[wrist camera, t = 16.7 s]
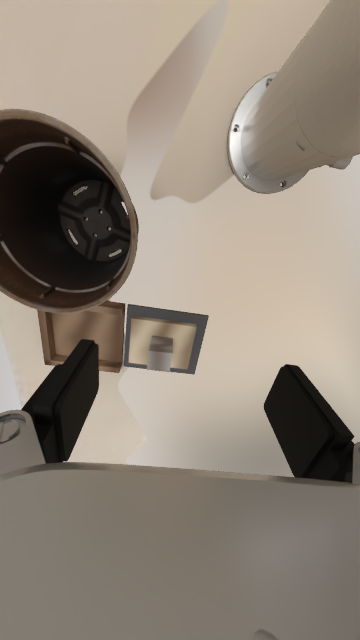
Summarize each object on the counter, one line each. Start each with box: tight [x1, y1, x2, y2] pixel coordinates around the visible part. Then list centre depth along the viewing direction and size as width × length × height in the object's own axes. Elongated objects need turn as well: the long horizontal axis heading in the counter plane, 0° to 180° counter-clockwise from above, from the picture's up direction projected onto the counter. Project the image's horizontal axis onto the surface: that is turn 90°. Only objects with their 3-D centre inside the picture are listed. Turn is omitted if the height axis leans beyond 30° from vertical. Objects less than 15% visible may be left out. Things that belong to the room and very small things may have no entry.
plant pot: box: [0, 109, 138, 313], centre depth 26 cm, size 16×16×16 cm
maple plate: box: [129, 316, 197, 372], centre depth 40 cm, size 12×10×6 cm
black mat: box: [124, 304, 208, 374], centre depth 43 cm, size 15×14×1 cm
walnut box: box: [37, 301, 125, 373], centre depth 41 cm, size 14×14×3 cm
